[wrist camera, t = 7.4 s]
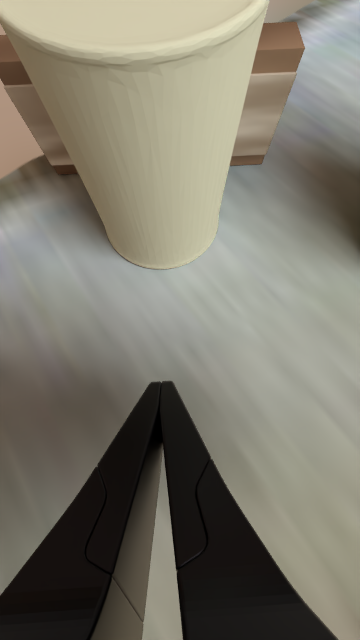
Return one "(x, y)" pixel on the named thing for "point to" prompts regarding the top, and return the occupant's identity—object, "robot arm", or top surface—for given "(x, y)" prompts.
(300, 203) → the top surface
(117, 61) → the can
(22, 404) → the top surface
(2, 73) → the brown box
